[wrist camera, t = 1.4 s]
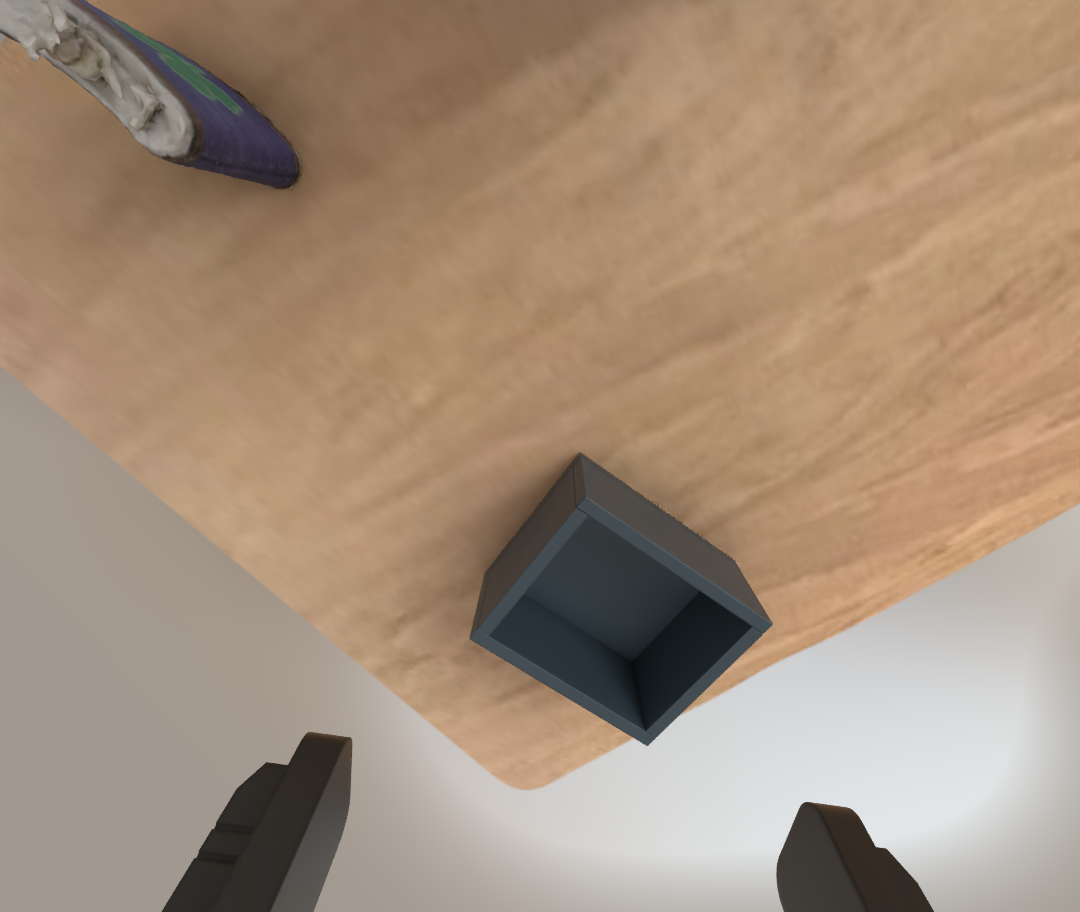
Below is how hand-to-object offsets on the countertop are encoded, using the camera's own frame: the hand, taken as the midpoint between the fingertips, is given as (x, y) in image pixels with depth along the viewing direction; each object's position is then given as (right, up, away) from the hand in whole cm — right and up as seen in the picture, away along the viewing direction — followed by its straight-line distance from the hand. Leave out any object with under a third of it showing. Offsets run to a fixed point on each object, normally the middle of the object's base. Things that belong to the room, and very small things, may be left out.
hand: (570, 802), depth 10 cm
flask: (-17, +24, +19) cm, 35 cm away
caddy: (+4, -1, +26) cm, 27 cm away
